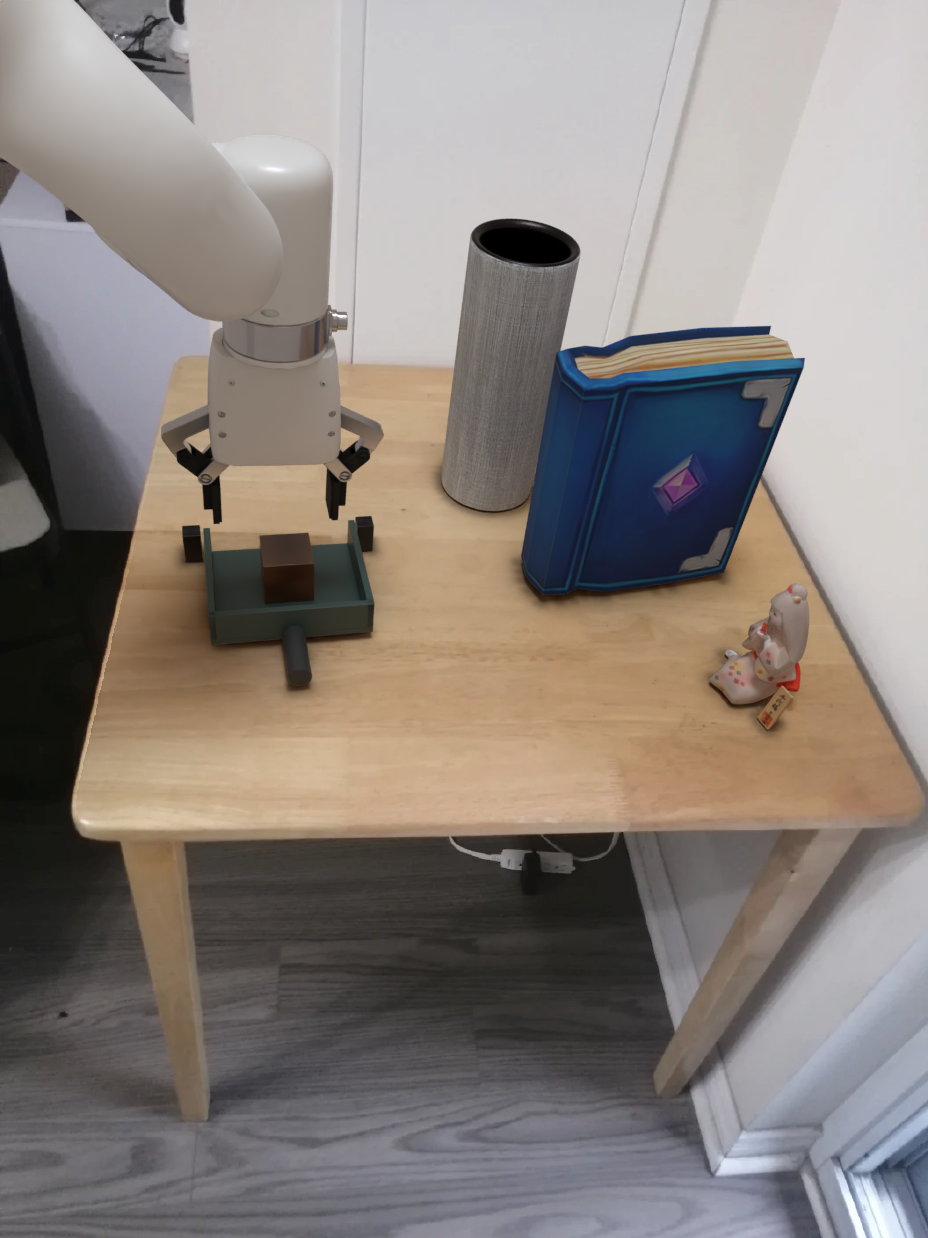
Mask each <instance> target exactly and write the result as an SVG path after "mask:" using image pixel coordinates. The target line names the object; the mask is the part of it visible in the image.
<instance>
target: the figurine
mask: <svg viewBox="0 0 928 1238" xmlns="http://www.w3.org/2000/svg"><path fill="white" fill-rule="evenodd" d="M809 630H810V608H809V602H808V590H807V588H806V586H805V585H804V584H802V583H791V584H790V585H788V586H787V588H786V589H785V590H782V591H781V592H779V593H776V594H775V595H774V596H773V597H772V598H771V599H770V609H769V611H768V616H767V617H765V618H763V619H760V620H758V621H756V622H754V623H752V624H750V625H749V627H748V633H747V635H748V637H747V638H745V640H744V641H743V642H742V643H741V647H742V648H744V649H746V650H749V651H748V652H746V653H745V654H743V655H742V656H741V655H739V654H738V653H737V652H735V651H734V650H732V649H727V650H726V651H725V652H724V655H725V656H726V657H727V660H726V662H724V663H723V665H722V666H721V667H720V668H719V670H717V671H716V672H714V674H713V675H712V676H710V678H709V682H710V683H711V684H712V685H713V686H714V687H716V688H717V689H718V690H720V691H721V692H722V694H723V695H724V696H725V697H726V699H728V701H729V703H731V704H733V705H749V704H753V703H757V702H760V701H762V700H765V699H767V698H769V697H770V696H771V699H770V700H769V701H768V703H767V704H766V705H765V707H764V708H763V709H762V711H760V713H759V714H758V716H757V719H758V721H759V722H760V723H761V725H762V726H763V727H764V728H765V730H767V731H769V730H771V728H772V727H773V726H774V725H775V723H776V722H777V721H778V720H779V718H780V717H781V716H782V714H783V713H784V712H785V710H786V709H787V708H788V707H789V705H790V704H791V702H792V701H794V699H795V698H794V696H793V695H792V693H790V692H793V693H797V692H798V691H799V690H800V685H801V666H800V663H799V662H800V661H801V660H802V658H803V656H804V654H805V652H806V649H807V644H808V637H809V632H810V631H809ZM772 695H773V696H772Z"/></svg>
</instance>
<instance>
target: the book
mask: <svg viewBox="0 0 928 1238" xmlns="http://www.w3.org/2000/svg"><path fill="white" fill-rule="evenodd" d="M771 329H772V325H753V326H752V325H751V326H750V325H749V326H717V327H715V326H714V327H713V326H712V327H698V328H687V329H680V330H679V329H678V330H670V331H661V332H654V333H645V334H635V335H630V336H627V337H624V338H622V339H619V340H617V341H613V342H612V343H610V344H607V345H604V346H602V347H601V346H594V345H593V346H592V345H581V346H575V347H574V346H573V347H569V348H566V349H561V351H559V352H556V358H555V364H554V369H553V375H552V381H551V387H550V392H549V398H548V404H547V410H546V415H545V421H544V427H543V433H542V438H541V444H540V450H539V455H538V461H537V465H536V470H535V475H534V480H533V484H532V489H531V496H530V503H529V508H528V514H527V518H526V524H525V531H524V536H523V542H522V547H521V554H520V558H521V563H522V567H523V573H524V577H525V578H526V579H527V580H528V582H530V584H531V585H532V586H533V587H534V588H535V589H536V590H537V592H538V593H539V594H540V595H541V596H557V595H560V596H561V595H568V594H570V593H572V592H575V591H577V590H585V591H592V592H599V593H600V592H601V593H608V592H609V593H610V592H617V591H624V590H630V589H638V588H645V587H652V586H659V585H665V584H671V583H676V582H682V581H686V580H692V579H697V578H702V577H708V576H713V575H718V574H723V573H725V571H726V568H727V566H728V564H729V561H730V559H731V556H732V553H733V551H734V548H735V545H736V543H737V541H738V538H739V536H740V532H741V530H742V527H743V525H744V522H745V519H746V517H747V515H748V512H749V509H750V507H751V504H752V502H753V499H754V497H755V494H756V491H757V489H758V486H759V483H760V481H761V479H762V476H763V473H764V471H765V468H766V465H767V463H768V461H769V459H770V455H771V453H772V451H773V447H774V446H775V442H776V440H777V437H778V435H779V432H780V430H781V427H782V425H783V423H784V419H785V417H786V415H787V412H788V409H789V407H790V404H791V402H792V399H793V398H794V394H795V391H796V388H797V386H798V383H799V381H800V379H801V378H800V377H801V375H802V373H803V371H804V368H805V360H806V357H794V355H793V351H792V349H791V346H790V344H789V341H787V340H785V339H782V338H780V337H777V336H774V335H771Z"/></svg>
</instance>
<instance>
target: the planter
mask: <svg viewBox="0 0 928 1238" xmlns="http://www.w3.org/2000/svg"><path fill="white" fill-rule="evenodd" d="M581 255H582V253H581V247H580V245H579V243H578V242H577V241H576V239H575V238H574V237H573V236H571V235H570V234H568V233H567V232H565V231H564V230H562V229H560V228H558V227H555V226H553V225H550V224H548V223H544V222H540V221H536V220H532V219H531V220H530V219H524V218H496V219H491V220H488V221H484V222H482V223H480V224H478V225H477V226H475V227H474V228H473V230H472V231H471V233H470V237H469V244H468V251H467V260H466V268H465V277H464V283H463V291H462V293H463V294H462V301H461V310H460V317H459V323H458V324H459V325H458V333H457V341H456V350H455V358H454V366H453V374H452V381H451V391H450V398H449V407H448V415H447V423H446V429H445V430H446V432H445V439H444V448H443V454H442V463H441V478H440V480H441V484H442V487H443V489H444V490H445V492H446V493H447V494H448V495H449V496H450V497H451V498H452V499H453V500H455V501H456V502H458V503H460V504H462V505H464V506H465V507H468V508H472V509H475V510H479V511H485V512H500V511H506V510H510V509H511V510H512V509H514V508H516V507H518V506H520V505H522V504H523V503H525V502H526V500H527V499H528V498H529V496H530V494H531V492H532V489H533V484H534V478H535V473H536V467H537V461H538V455H539V450H540V444H541V438H542V433H543V427H544V421H545V415H546V410H547V404H548V398H549V392H550V387H551V381H552V375H553V369H554V364H555V358H556V352H559V351H562V346H563V342H564V341H563V340H564V337H565V331H566V327H567V322H568V317H569V311H570V307H571V303H572V298H573V294H574V293H573V292H574V289H575V283H576V278H577V273H578V269H579V263H580V260H581Z"/></svg>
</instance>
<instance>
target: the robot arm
mask: <svg viewBox="0 0 928 1238" xmlns="http://www.w3.org/2000/svg"><path fill="white" fill-rule="evenodd" d="M0 158H1V159H2V160H4V161H6V162H7V163H8V164H10V165H11V166H13V167H14V168H15V169H17V170H19V171H20V172H21V173H23V174H24V175H25V176H27V177H29V178H30V179H31V180H33V181H34V182H35V183H37V184H38V185H39V186H41V187H42V188H43V189H45V190H46V191H47V192H48V193H50V194H51V195H53V197H55V198H56V199H57V200H59V201H60V202H62V204H63V205H65V206H66V207H67V208H69V210H71V211H72V212H73V213H75V214H76V215H77V216H78V217H80V218H81V220H83V221H84V222H85V223H87V224H88V225H89V226H90V227H91V228H92V230H93V231H94V233H95V234H96V236H97V237H98V238H99V239H100V240H101V241H102V242H103V244H105V245H106V246H107V247H108V248H109V249H110V250H111V251H112V252H114V253H115V255H118V256H119V257H120V258H121V259H122V260H123V261H125V262H126V263H127V264H128V265H130V266H131V267H132V268H133V269H135V270H136V271H137V272H138V273H140V274H141V275H143V276H144V277H145V278H147V279H148V280H149V281H150V282H152V283H153V284H154V285H155V286H157V287H158V288H159V289H161V291H163V292H164V293H165V294H166V295H167V296H169V298H171V299H172V300H173V301H174V302H176V303H177V304H178V305H179V306H181V307H182V308H183V309H184V310H185V311H187V312H188V313H190V314H191V315H194V316H196V317H198V318H201V319H203V320H206V321H207V320H208V321H212V322H218V323H220V322H221V327H219V328H218V329H216V330H215V331H214V332H213V334H212V337H211V342H210V348H209V355H208V365H207V404H205V405H203V406H201V407H199V408H197V409H195V410H192V411H190V412H188V413H186V414H184V415H180V416H179V417H177V418H175V419H171V420H169V421H168V422H166V423H163V424H162V425H161V428H160V430H161V431H160V433H161V434H160V437H161V440H162V442H163V443H164V445H165V446H166V447H167V449H168V450H169V451H170V453H171V454H172V455H173V456H174V457H175V459H176V462H177V464H179V465H180V466H181V467H183V468H184V469H185V470H187V471H188V472H189V473H191V474H192V475H193V476H195V477H196V478H197V481H198V483H199V484H200V485H201V488H202V503H203V510H204V511H207V510H208V511H212V522H213V523H212V524H213V525H220V523H223V512H222V511H223V510H222V509H223V508H222V490H221V476H220V475H222V473H224V471H225V470H227V468H228V467H229V466H231V467H271V466H272V467H273V466H274V467H276V466H278V467H279V466H281V467H282V466H316V465H317V466H318V465H323V466H324V467H325V468H326V479H325V505H326V509H327V514H328V515H327V516H328V519H329V520H331V521H339V513H340V512H339V511H340V507H345V506H346V504H347V491H348V490H347V489H348V487H347V486H348V482H349V481H351V480H352V479H353V474H354V473H355V472H356V471H357V470H359V469H360V468H361V467H362V466H364V465H365V464H366V463H368V462H369V461H370V459H371V455H372V453H373V452H375V450H376V449H377V447H378V446H379V445H380V443H381V442H382V440H383V438H384V437H385V433H384V430H383V427H382V424H381V423H379V422H377V421H376V420H373V419H372V418H369V417H367V416H365V415H363V414H361V413H358V412H356V411H353V410H352V409H350V408H348V407H346V406H343V405H341V404H342V403H341V401H342V400H341V386H340V377H339V376H340V375H339V374H340V373H339V362H338V359H339V358H338V352H337V346H336V341H335V338H334V336H333V333H338V331H348V326H349V325H348V324H349V322H348V321H349V320H348V319H349V318H348V312H347V311H338V310H337V309H332V305H331V304H329V296H330V295H329V293H330V272H331V270H330V269H331V252H332V251H331V248H332V228H333V227H332V226H333V225H332V223H333V220H332V219H333V206H334V205H333V203H334V202H333V201H334V173H333V169H332V166H331V162H330V161H329V159H328V158H327V156H326V155H325V153H324V152H323V151H321V150H320V149H319V148H318V147H316V146H315V145H313V144H312V143H308V142H307V141H304V140H301V139H299V138H295V137H291V136H286V135H281V134H272V133H258V134H248V135H243V136H239V137H236V138H233V139H232V140H229V141H226V142H223V141H222V142H221V141H219V142H217V141H214V142H213V141H210V140H209V139H208V137H206V136H205V135H204V134H203V133H202V131H201V130H199V128H198V127H197V126H196V125H195V124H194V123H193V122H192V121H191V120H190V119H189V118H188V117H187V116H186V115H185V114H184V112H182V111H181V110H180V109H179V107H177V105H176V104H175V103H174V102H173V101H171V99H170V98H169V97H168V96H167V95H166V94H165V93H164V92H163V91H162V90H161V89H160V88H159V87H158V86H157V85H156V84H155V83H154V82H153V81H152V80H151V79H150V78H149V77H148V76H147V75H146V74H145V73H144V72H143V71H142V70H141V69H140V68H139V67H138V66H137V65H136V64H135V63H134V62H133V61H132V60H131V59H130V58H129V57H128V56H127V55H126V54H125V53H124V52H123V51H122V50H121V49H120V48H119V47H118V46H117V44H116V43H115V42H113V40H112V39H111V38H110V37H109V36H108V35H107V34H106V33H105V32H104V30H102V28H101V27H100V26H99V25H98V24H97V22H95V21H94V20H93V19H92V17H91V16H90V15H89V14H88V13H87V12H86V11H85V10H84V9H83V8H82V7H81V6H80V5H79V4H78V2H76V1H75V0H0ZM342 429H343V430H345V431H347V432H350V433H352V434H354V435H356V436H358V437H359V438H358V439H357V440H356V441H354V442H353V443H352V444H351V445H348V447H347V448H345V449H343V448H342V447H341V441H342ZM207 430H208V434H209V444H208V445H207V446H206V447H205V448H204V449H203V450H202V451H201V450H199V449H198V448H196V447H195V446H194V445H192V444H191V443H190V442H188V441H187V439H188V438H190V437H193V436H195V435H197V434H199V433H202V432H204V431H207Z"/></svg>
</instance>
